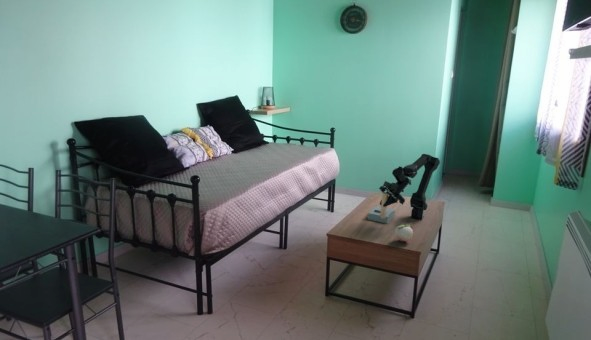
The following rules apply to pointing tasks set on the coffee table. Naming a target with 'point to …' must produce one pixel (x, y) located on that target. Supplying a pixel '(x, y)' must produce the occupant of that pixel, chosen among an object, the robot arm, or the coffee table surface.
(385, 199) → the pin
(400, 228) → the decorative fruit
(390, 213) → the hole block
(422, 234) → the coffee table surface
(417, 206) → the robot arm
